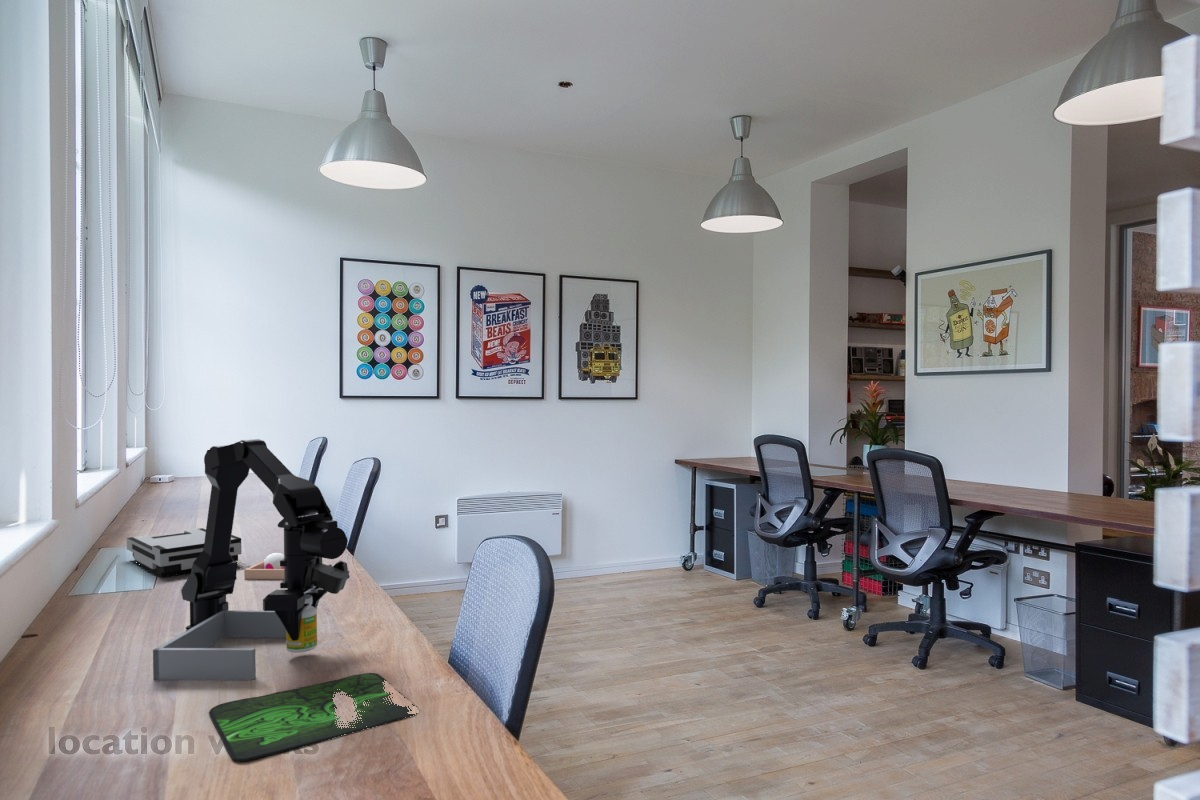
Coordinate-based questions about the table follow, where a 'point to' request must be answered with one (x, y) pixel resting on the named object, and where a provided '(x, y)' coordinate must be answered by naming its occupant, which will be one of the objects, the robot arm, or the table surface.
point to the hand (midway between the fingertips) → (301, 635)
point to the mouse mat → (301, 716)
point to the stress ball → (273, 561)
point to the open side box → (200, 662)
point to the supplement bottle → (305, 630)
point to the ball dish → (263, 572)
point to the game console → (173, 551)
